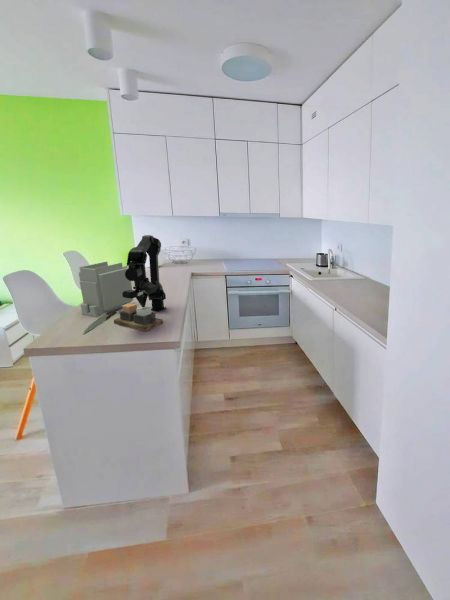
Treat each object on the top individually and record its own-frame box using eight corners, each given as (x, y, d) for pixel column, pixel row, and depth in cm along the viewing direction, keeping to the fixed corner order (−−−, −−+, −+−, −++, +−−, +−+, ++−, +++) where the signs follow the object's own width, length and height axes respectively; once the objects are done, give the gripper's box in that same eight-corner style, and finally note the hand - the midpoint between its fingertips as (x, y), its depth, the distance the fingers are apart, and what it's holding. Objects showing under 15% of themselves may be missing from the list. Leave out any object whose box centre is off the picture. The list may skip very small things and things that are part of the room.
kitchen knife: (114, 307, 160) (79, 327, 132) (115, 307, 160) (81, 327, 132) (115, 314, 161) (81, 335, 133) (116, 314, 161) (83, 336, 133)
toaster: (78, 313, 162) (70, 268, 154) (114, 300, 185) (109, 260, 177) (100, 317, 155) (92, 270, 147) (135, 303, 177) (129, 261, 169)
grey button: (144, 313, 145) (143, 305, 144) (151, 314, 142) (150, 307, 141) (137, 316, 141) (136, 308, 139) (144, 318, 138) (143, 310, 137)
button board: (132, 316, 156) (131, 305, 154) (162, 323, 145) (161, 312, 143) (114, 323, 146) (112, 312, 144) (145, 331, 135) (144, 319, 133)
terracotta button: (130, 310, 150) (129, 303, 148) (137, 311, 147) (136, 304, 146) (123, 313, 146) (122, 305, 144) (129, 314, 143) (128, 307, 142)
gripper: (136, 282, 124) (140, 315, 129) (166, 273, 139) (168, 304, 144) (119, 279, 129) (123, 312, 134) (149, 271, 145) (152, 301, 149)
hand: (143, 307), depth 140 cm, fingers closed
